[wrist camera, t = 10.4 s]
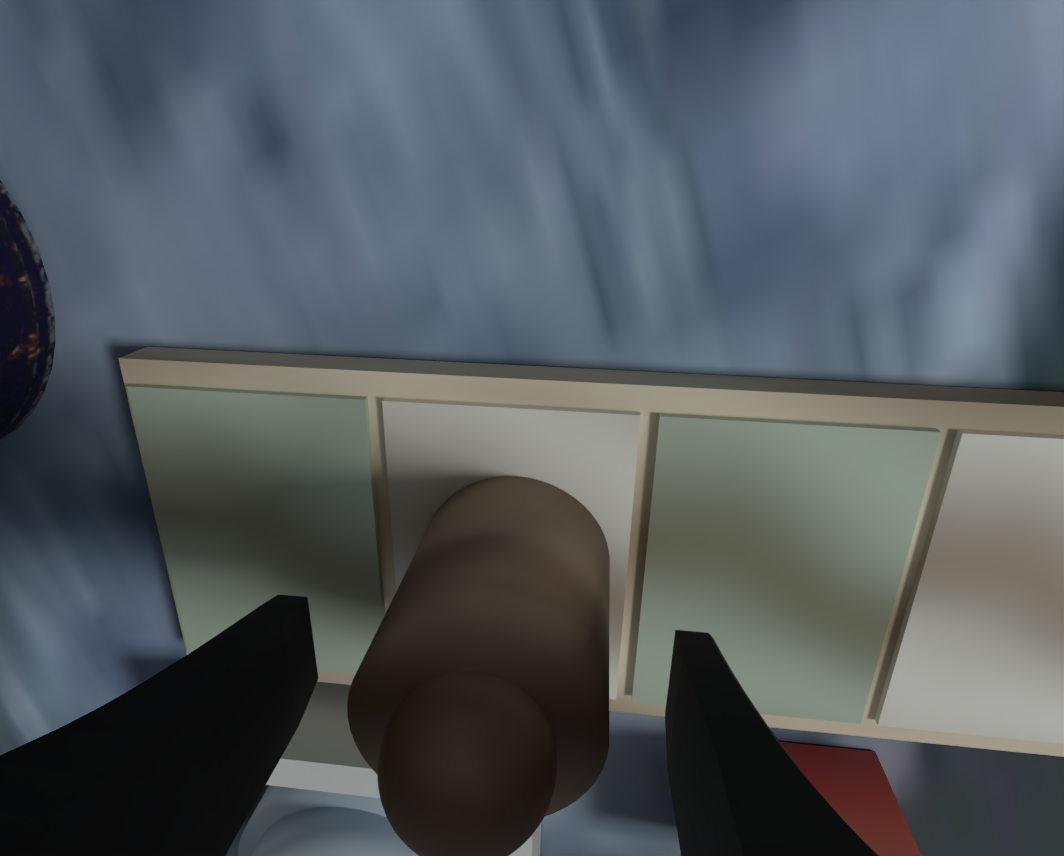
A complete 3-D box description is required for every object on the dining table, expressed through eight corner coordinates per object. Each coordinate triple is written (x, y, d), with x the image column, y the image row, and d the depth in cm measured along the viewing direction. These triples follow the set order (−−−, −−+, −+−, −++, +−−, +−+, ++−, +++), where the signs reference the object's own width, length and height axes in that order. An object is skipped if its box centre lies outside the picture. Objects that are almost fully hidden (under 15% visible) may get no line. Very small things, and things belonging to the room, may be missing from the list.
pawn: (603, 642, 16) (598, 967, 10) (428, 626, 16) (311, 926, 10) (616, 483, 14) (620, 748, 8) (421, 469, 15) (274, 711, 8)
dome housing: (538, 915, 22) (527, 1023, 19) (263, 879, 23) (215, 976, 20) (545, 693, 18) (533, 787, 16) (217, 660, 19) (151, 744, 17)
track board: (1090, 729, 17) (1123, 769, 16) (210, 644, 19) (185, 673, 18) (1239, 400, 13) (1296, 422, 12) (146, 346, 16) (111, 360, 15)
